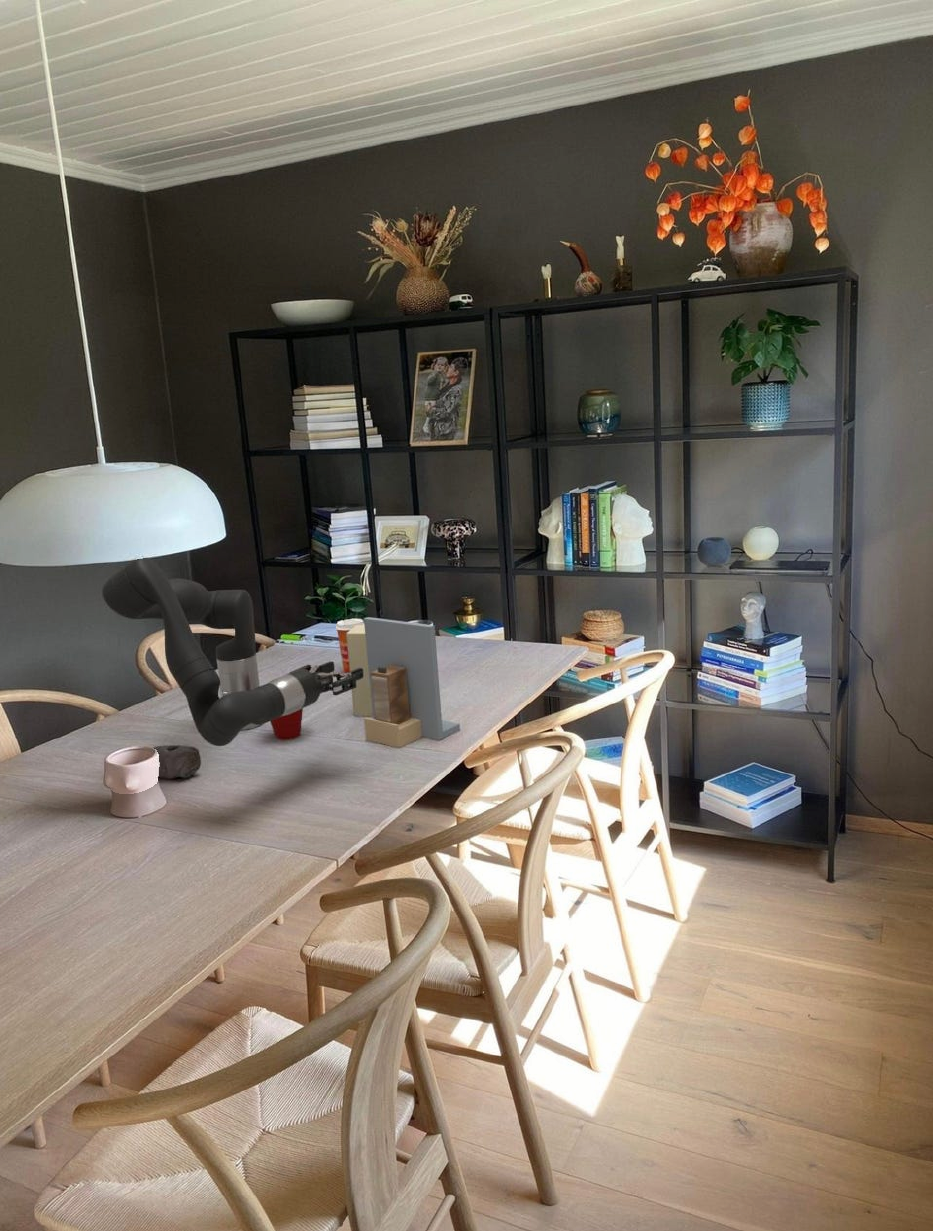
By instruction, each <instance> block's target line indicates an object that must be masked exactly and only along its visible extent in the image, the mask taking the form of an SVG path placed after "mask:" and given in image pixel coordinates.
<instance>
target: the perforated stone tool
mask: <svg viewBox="0 0 933 1231" xmlns="http://www.w3.org/2000/svg"><path fill="white" fill-rule="evenodd" d="M152 748H154V749H156V750H157V752H158V754H159V762H160V767H159V777H160V779H169V780H171V779H176V778H179V777H180V778H182V779H187V778H189V777H190V776H193V775H195V774H197V772H198V771H199V770H200V768H201V765H202V757H201V755H200V750H199V748H197V747H195V746H192V745H180V744H178V745H175V744H171V745H160V746H153V747H152Z"/></svg>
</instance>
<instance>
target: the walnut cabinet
mask: <svg viewBox="0 0 933 1231" xmlns="http://www.w3.org/2000/svg"><path fill="white" fill-rule="evenodd" d="M371 677H372V688H373V698H374V709H375V719H376V720H379V721H384V722H389V723H393V724H401V723H403V722H405V721H407V720H409V719H410V710H409V698H408V686H407V675H406V668H403V667H397V666H391V665H389V666H386V667H378V670H376V671H373V672H371Z"/></svg>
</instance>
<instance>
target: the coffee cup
mask: <svg viewBox="0 0 933 1231" xmlns="http://www.w3.org/2000/svg"><path fill="white" fill-rule="evenodd" d="M357 625H364V619H362V618H350V619H344V620H339V621H337V623H336V626H335V629H336V631H337V638H338V643H339V649H340V656H341V661H342V668H343V673H348V672H350V668H349V658H348V648H347V637H346V634H347V633H348V632H349V631H350V630H351V629H352V628H353V627H355V626H357Z"/></svg>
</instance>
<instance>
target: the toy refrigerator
mask: <svg viewBox="0 0 933 1231" xmlns="http://www.w3.org/2000/svg"><path fill="white" fill-rule="evenodd" d="M346 637H347V648H348V658H349V668H350V671H353V670H355V669H357V668H362V669H363V675H364V676H363V678H362V679H360V680H357V681H356V686H357V687H356V688H354V689H351V690H350V691H351V700H352V710H353V716H354V717H373V710H372V700H371V689H370V679H369V668H368V658H367V647H366V637H365V626H364V625H357V626H355V627H353V628H352V629H351V630H350V631H349V632H348V633H347V634H346Z"/></svg>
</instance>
